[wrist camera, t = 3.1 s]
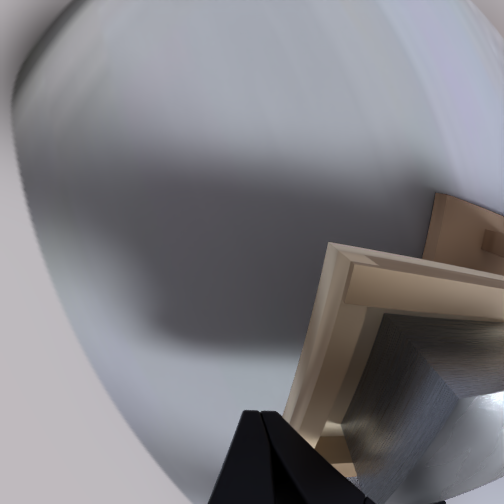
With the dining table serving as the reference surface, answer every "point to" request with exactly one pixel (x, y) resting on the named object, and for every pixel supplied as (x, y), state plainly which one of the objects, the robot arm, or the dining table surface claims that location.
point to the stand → (465, 235)
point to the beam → (371, 330)
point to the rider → (428, 410)
